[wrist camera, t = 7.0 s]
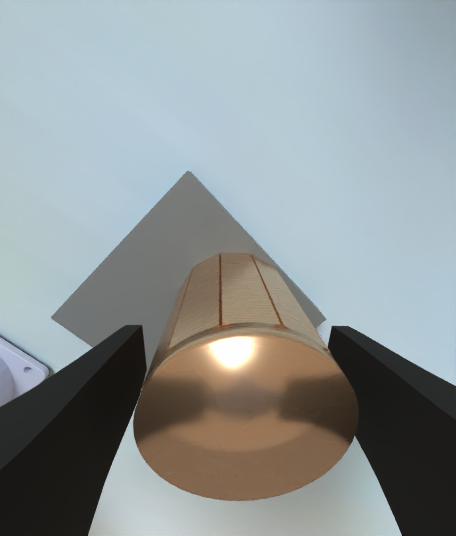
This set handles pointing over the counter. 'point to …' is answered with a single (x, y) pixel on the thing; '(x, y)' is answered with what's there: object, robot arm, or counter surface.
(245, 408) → the copper topped wooden cylinder
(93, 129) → the counter surface
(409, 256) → the counter surface
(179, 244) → the base
